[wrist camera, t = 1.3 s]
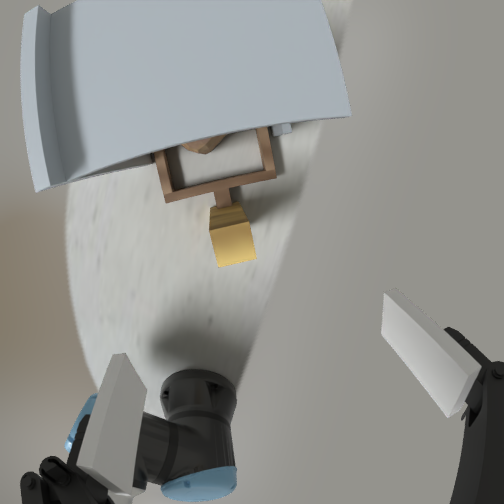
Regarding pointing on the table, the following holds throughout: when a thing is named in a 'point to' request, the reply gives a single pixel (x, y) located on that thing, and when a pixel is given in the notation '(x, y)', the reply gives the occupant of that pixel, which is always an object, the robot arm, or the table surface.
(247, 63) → the shelf
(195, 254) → the table surface
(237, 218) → the pull yoke
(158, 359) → the table surface
